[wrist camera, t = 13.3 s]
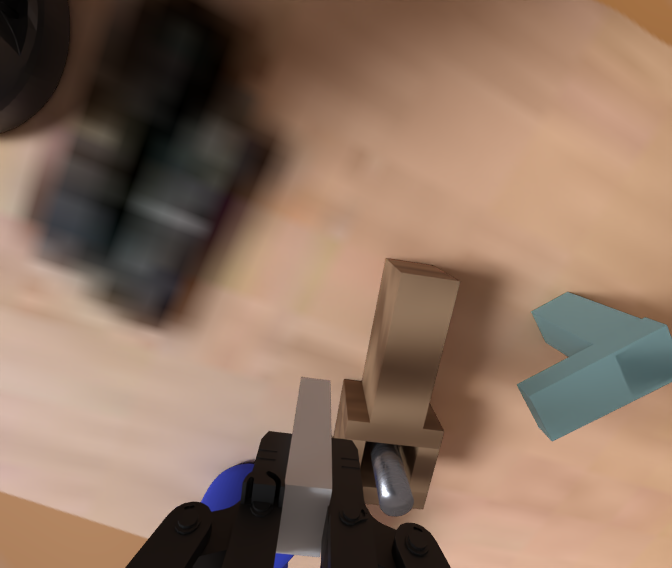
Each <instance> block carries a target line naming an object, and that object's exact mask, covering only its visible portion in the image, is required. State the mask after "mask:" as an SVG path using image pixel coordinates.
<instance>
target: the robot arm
mask: <svg viewBox="0 0 672 568" xmlns="http://www.w3.org/2000/svg"><path fill="white" fill-rule="evenodd" d="M69 37H70V17H69V6H68V0H0V133H2V132H5V131H8V130H10V129H13V128H15V127H17V126H19V125H20V124H22V123H24V122H25V121H27V120H28V119H29V118H31V117H32V116H33V115H34V114H36V113H37V112H38V111H39V110H40V109H41V108H42V106H43V105H44V104H45V103H46V102H47V100H48V99H49V98H50V96H51V95H52V93H53V91H54V90H55V88H56V86H57V84H58V82H59V80H60V78H61V75H62V72H63V69H64V66H65V62H66V58H67V53H68V47H69ZM276 553H281V554H291V555H302V556H312V557H320V553H321V566H320V568H451V567H450V565H449V564H448V562H447V560H446V558H445V556H444V554H443V553H442V551H441V549H440V547H439V545H438V543H437V542H436V540H435V539H434V537H433V536H432V535H431V533H430V532H429V531H428V530H426V529H425V528H424V527H423V526H420V525H418V524H415V523H404V524H402V525H400V526H399V527H398V529H397V530H395V529H393V528H390V527H388V526H386V525H384V524H382V523H380V522H378V521H377V520H376V519H375V518H373V517H372V515H371V514H370V513H369V510H368V509H367V507H366V505H365V502H364V494H363V486H362V478H361V470H360V462H359V454H358V449H357V447H356V446H355V444H354V442H353V441H352V440H347V439H339V438H331V381H330V380H322V379H314V378H306V377H301V382H300V388H299V395H298V401H297V407H296V414H295V420H294V426H293V433H292V434H289V433H281V432H272V431H269V432H268V433H267V434H266V435H265V436H264V437H263V438H262V439H261V442H260V446H259V450H258V453H257V456H256V460H255V463H254V467H253V470H252V472H250V473H249V474H248V475H247V476H246V477H245V479H244V481H243V483H242V492H241V500H240V501H239V502H238V503H236V504H235V505H233V506H231V507H229V508H226V509H222V510H217V511H212V512H211V510H210V508H209V507H208V506H207V505H205V504H203V503H201V502H188V503H184V504H182V505H180V506H178V507H176V508H175V509H174V510H173V511H172V512H170V513H169V514H168V515H167V517H166V518H165V519H164V520H163V522H162V523H161V524H160V525H159V527H158V528H157V529H156V530H155V532H154V533H153V534H152V535H151V536H150V538H149V539H148V540H147V541H146V543H145V544H144V545H143V546H142V548H141V549H140V550H139V551H138V553H137V554H136V555H135V556H134V557H133V559H132V560H131V561H130V562H129V564H128V565H127V566H126V568H274V562H275V555H276Z"/></svg>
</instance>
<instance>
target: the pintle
mask: <svg viewBox="0 0 672 568" xmlns="http://www.w3.org/2000/svg"><path fill="white" fill-rule="evenodd" d="M368 443H369V448H370V454H371V460H372V465H373V471H374V476H375V482H376V488H377V493H378V499H379V505H380V508H381V510H382V511H383V512H384V513H385V514H387V515H389V516H401V515H404V514H406V513H408V512H409V511H410V510H411V509H412V507H413V504H414V499H413V495H412V492H411V488H410V485H409V482H408V478H407V475H406V472H405V468H404V465H403V461H402V458H401V455H400V451H399V448H398V445H396V444H387V443H378V442H369V441H368Z"/></svg>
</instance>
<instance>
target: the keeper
mask: <svg viewBox="0 0 672 568" xmlns="http://www.w3.org/2000/svg"><path fill="white" fill-rule="evenodd" d="M532 314H533V317H534V319H535V321H536V323H537V325H538V327H539V329H540V331H541V334H542V336H543V338H544V340H545V342H546V343H547V344H549V345H550V346H552V347H554V348H555V349H557V350H558V351H560V352H561V353H563V354H565V355H566V356H568V358H566V359H565V360H563V361H561V362H559V363H557V364H555V365H553V366H551V367H549V368H547V369H545V370H544V371H542V372H540V373H538V374H536V375H534V376H532V377H530V378H528V379H526V380H524V381H522V382H521V383H519V384H517V386H518V388H519V390H520V392H521V394H522V396H523V398H524V400H525V402H526V404H527V406H528V407H529V409H530V411H531V413H532V415H533V417H534V419H535V421H536V423H537V425H538V427H539V428H540V429H541V430H542V431H543V432H544V434H545V435H546V436H547V437H548V438H549V439H550V440H551V441H554V440H556V439H558V438H560V437H562V436H564V435H566V434H568V433H570V432H572V431H574V430H576V429H578V428H580V427H582V426H584V425H586V424H588V423H590V422H592V421H594V420H596V419H599V418H601V417H603V416H605V415H607V414H609V413H611V412H613V411H615V410H617V409H619V408H621V407H623V406H625V405H627V404H629V403H631V402H633V401H635V400H637V399H639V398H641V397H643V396H645V395H647V394H649V393H651V392H653V391H655V390H657V389H659V388H661V387H663V386H665V385H667V384H669V383H671V382H672V338H671V335H670V332H669V329H668V327H667V325H666V324H663V323H660V322H657V321H654V320H652V319H649V318H646V317H645V318H643V319H640V318H638V317H635V316H632V315H629V314H627V313H624V312H621V311H618V310H616V309H613V308H610V307H608V306H605V305H602V304H599V303H597V302H594V301H591V300H588V299H586V298H583V297H580V296H578V295H575V294H572V293H569V292H566V293H565V294H563V295H561V296H559V297H557V298H555V299H554V300H552V301H550V302H548V303H546V304H544V305H543V306H541V307H539V308H537V309H535V310H533V311H532Z"/></svg>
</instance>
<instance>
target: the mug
mask: <svg viewBox="0 0 672 568" xmlns="http://www.w3.org/2000/svg"><path fill="white" fill-rule="evenodd" d="M253 467H254V464H240V465H236V466H233V467H231V468H229V469H227V470H225V471H224V472H222V473H221V474H220V475H219V476H218V477H217V478H216V479H215V480H214V481H213V482H212V484H211V485H210V487H209V488H208V490H207V492H206V494H205V495H204V497H203V499H202V501H201V503H203V504H205V505H207V506H208V507H209V508H210V510H211V512H212V511H217V510H222V509H226V508H229V507H231V506H233V505H235V504H236V503H238V502H239V501H240V500H241V492H242V483H243V481H244V479H245V477H246V476H247V475H248V474H249V473H250V472H252V470H253ZM293 556H294V555H291V554H281V553H276V555H275V562H274V568H288V561H289V560H290V559H291V558H292V557H293Z"/></svg>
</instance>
